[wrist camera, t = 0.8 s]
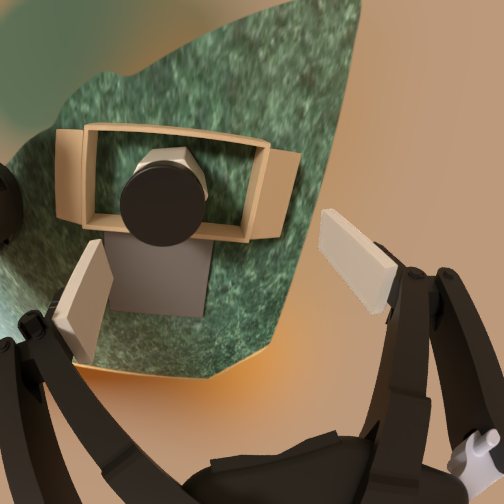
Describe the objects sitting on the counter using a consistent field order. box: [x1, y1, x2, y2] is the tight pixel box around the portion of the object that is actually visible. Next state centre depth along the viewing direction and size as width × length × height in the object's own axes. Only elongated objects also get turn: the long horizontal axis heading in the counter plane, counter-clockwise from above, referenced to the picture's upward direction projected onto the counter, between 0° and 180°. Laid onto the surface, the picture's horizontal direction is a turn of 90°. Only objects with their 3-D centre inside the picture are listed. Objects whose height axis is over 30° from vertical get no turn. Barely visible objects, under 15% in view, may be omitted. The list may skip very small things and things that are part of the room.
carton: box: [55, 123, 301, 243], centre depth 33 cm, size 32×13×4 cm, turn 78°
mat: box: [104, 231, 214, 317], centre depth 41 cm, size 16×16×1 cm
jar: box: [120, 146, 208, 247], centre depth 30 cm, size 9×8×12 cm
